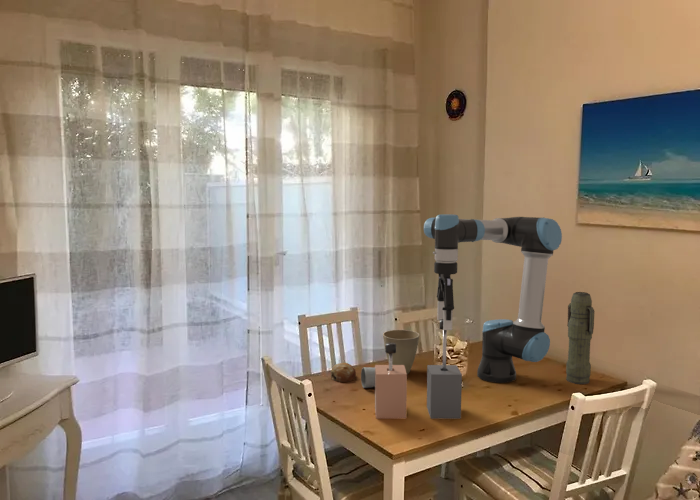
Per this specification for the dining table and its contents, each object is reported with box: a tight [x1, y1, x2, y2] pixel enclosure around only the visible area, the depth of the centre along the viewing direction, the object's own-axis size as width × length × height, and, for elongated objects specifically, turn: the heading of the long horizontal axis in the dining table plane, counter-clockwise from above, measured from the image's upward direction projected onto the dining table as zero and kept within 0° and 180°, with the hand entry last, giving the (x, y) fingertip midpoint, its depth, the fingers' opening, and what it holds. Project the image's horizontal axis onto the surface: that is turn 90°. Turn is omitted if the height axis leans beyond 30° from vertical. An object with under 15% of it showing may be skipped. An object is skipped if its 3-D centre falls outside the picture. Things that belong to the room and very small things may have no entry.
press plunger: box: [384, 342, 396, 371], centre depth 195 cm, size 8×8×22 cm
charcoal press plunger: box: [439, 319, 448, 371], centre depth 194 cm, size 8×8×22 cm
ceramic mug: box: [360, 366, 375, 389], centre depth 222 cm, size 11×8×8 cm
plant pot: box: [382, 329, 420, 375], centre depth 238 cm, size 15×15×16 cm
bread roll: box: [330, 362, 357, 383], centre depth 231 cm, size 10×10×8 cm
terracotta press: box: [374, 364, 408, 419], centre depth 196 cm, size 10×12×15 cm
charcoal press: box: [426, 364, 463, 420], centre depth 196 cm, size 10×12×15 cm
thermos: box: [565, 291, 595, 385], centre depth 226 cm, size 9×12×35 cm
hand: (444, 324), depth 192 cm, fingers open, 13 cm apart
